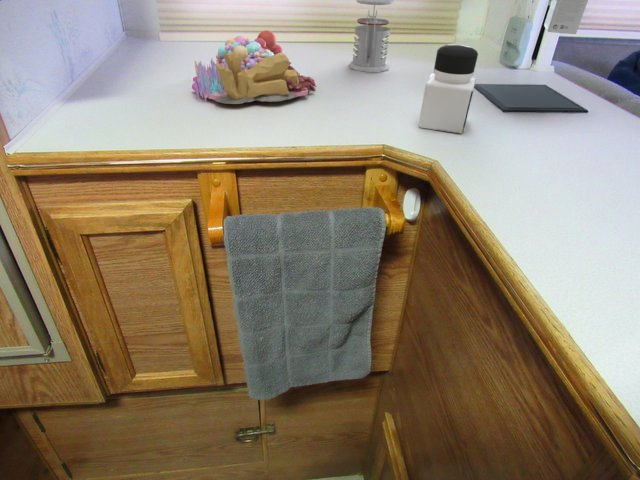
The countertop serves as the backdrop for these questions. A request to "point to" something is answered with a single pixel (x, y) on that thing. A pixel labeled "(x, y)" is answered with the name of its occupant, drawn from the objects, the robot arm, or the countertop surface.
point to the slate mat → (527, 98)
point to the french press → (371, 41)
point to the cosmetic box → (565, 16)
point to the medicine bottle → (449, 89)
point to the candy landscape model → (250, 73)
